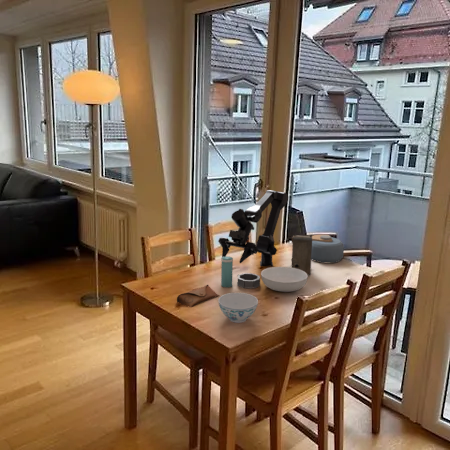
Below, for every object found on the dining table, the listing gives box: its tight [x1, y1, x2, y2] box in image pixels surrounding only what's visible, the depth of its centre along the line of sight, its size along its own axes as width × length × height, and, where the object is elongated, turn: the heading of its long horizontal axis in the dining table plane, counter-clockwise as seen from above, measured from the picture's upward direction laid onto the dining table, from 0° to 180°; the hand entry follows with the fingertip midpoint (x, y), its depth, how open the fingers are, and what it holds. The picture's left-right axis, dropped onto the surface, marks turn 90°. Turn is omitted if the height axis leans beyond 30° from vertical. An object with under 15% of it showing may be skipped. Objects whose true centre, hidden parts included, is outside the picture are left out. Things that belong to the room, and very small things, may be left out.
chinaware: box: [217, 292, 259, 324], centre depth 172 cm, size 15×15×8 cm
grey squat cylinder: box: [311, 234, 345, 263], centre depth 246 cm, size 19×20×12 cm
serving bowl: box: [260, 266, 309, 293], centre depth 203 cm, size 21×21×7 cm
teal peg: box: [220, 255, 234, 288], centre depth 204 cm, size 5×5×13 cm
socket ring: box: [236, 272, 261, 289], centre depth 207 cm, size 10×10×4 cm
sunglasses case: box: [176, 284, 221, 308], centre depth 191 cm, size 18×7×7 cm
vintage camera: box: [290, 234, 313, 276], centre depth 224 cm, size 10×16×20 cm, turn 174°
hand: (231, 260), depth 206 cm, fingers open, 9 cm apart
